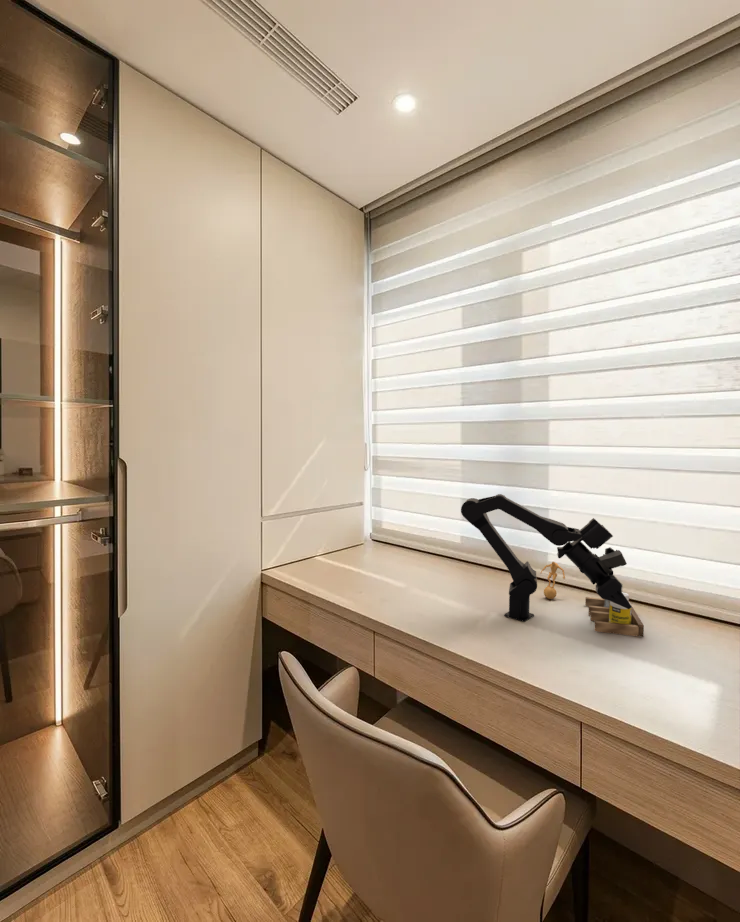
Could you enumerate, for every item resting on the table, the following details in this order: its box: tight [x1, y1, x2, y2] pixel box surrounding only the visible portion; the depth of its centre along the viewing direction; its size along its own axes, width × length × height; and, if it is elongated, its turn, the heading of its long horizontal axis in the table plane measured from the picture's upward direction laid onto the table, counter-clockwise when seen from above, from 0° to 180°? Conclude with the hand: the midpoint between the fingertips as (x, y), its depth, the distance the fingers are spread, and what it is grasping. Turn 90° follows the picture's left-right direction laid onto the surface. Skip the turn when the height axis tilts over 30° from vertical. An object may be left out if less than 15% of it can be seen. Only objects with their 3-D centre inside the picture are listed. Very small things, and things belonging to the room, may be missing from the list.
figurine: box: [540, 561, 566, 600], centre depth 153 cm, size 8×6×12 cm
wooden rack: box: [585, 596, 645, 638], centre depth 135 cm, size 12×21×3 cm, turn 162°
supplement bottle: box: [609, 591, 633, 625], centre depth 129 cm, size 5×5×10 cm
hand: (626, 602), depth 129 cm, fingers open, 9 cm apart
